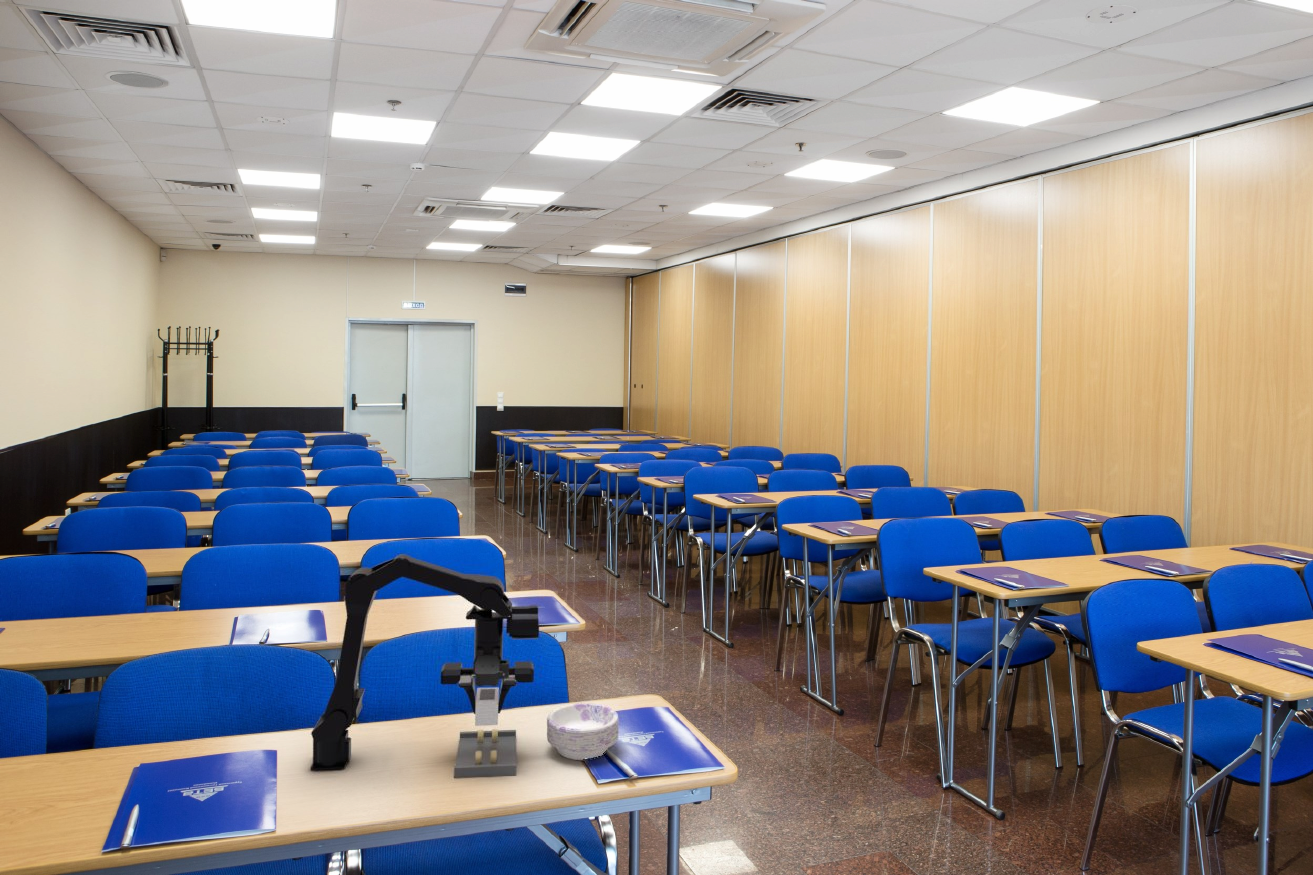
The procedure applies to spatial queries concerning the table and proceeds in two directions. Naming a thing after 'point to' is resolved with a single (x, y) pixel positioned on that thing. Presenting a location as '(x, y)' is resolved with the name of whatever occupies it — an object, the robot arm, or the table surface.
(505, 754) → the tray
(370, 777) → the table surface
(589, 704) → the paper bowls
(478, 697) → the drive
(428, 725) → the table surface
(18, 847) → the table surface
